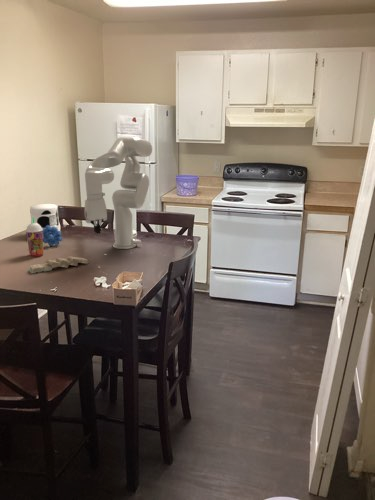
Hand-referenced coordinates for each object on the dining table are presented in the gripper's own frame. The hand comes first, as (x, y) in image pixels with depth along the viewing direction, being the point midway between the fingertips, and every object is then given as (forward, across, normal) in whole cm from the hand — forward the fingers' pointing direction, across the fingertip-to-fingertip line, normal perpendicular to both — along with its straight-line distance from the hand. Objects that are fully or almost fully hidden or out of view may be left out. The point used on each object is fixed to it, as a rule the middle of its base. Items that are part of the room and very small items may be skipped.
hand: (97, 232), depth 216 cm
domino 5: (+13, +8, +1) cm, 15 cm away
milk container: (+16, +10, -60) cm, 63 cm away
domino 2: (+13, +26, +1) cm, 29 cm away
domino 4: (+13, +14, +2) cm, 19 cm away
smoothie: (+14, +25, -23) cm, 37 cm away
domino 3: (+12, +18, +2) cm, 22 cm away
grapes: (+15, +14, -35) cm, 40 cm away
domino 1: (+11, +25, +2) cm, 28 cm away
